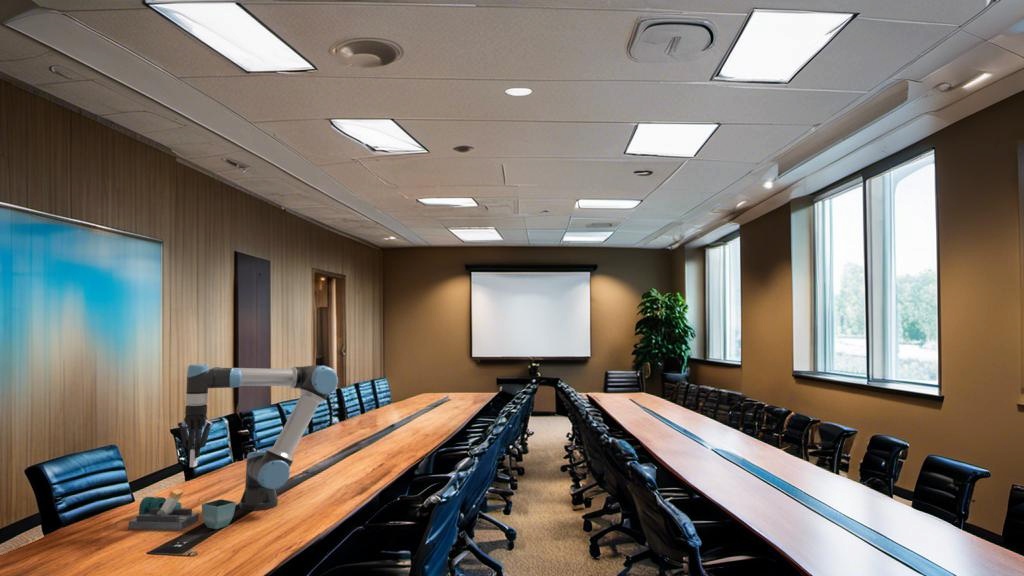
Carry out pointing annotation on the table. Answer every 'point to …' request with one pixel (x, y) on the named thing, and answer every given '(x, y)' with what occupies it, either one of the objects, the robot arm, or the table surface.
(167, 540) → the table surface
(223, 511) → the flower pot
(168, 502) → the breaker lever
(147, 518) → the dark grey rectangular piece
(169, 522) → the breaker panel
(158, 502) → the bracket
